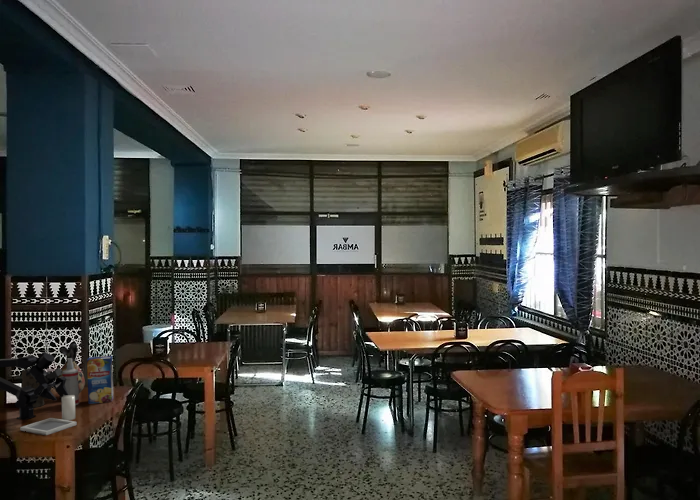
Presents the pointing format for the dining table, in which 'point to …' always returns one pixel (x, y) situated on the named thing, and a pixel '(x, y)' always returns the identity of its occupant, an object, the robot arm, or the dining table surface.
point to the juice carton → (100, 379)
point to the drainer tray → (48, 426)
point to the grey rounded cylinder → (68, 407)
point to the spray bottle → (71, 380)
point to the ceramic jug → (72, 354)
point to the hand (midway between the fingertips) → (61, 397)
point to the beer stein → (32, 383)
